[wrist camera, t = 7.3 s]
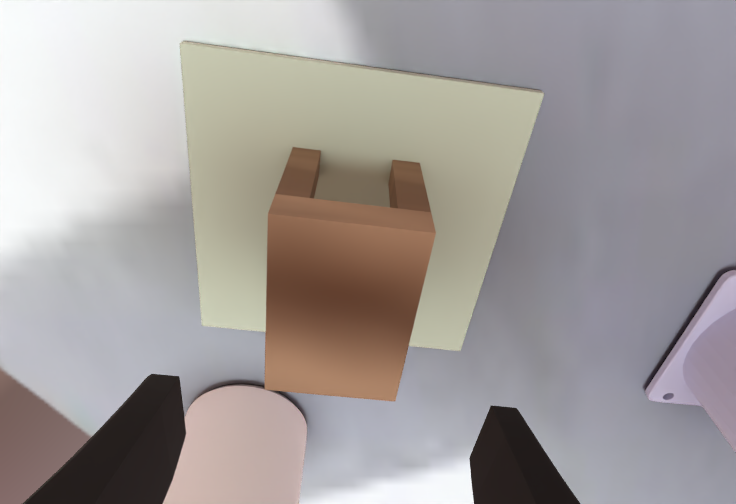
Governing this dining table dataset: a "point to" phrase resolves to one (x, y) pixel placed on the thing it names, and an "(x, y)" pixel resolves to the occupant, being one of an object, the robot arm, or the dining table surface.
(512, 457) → the robot arm
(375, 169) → the mat
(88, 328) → the dining table surface
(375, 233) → the stool
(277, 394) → the can
